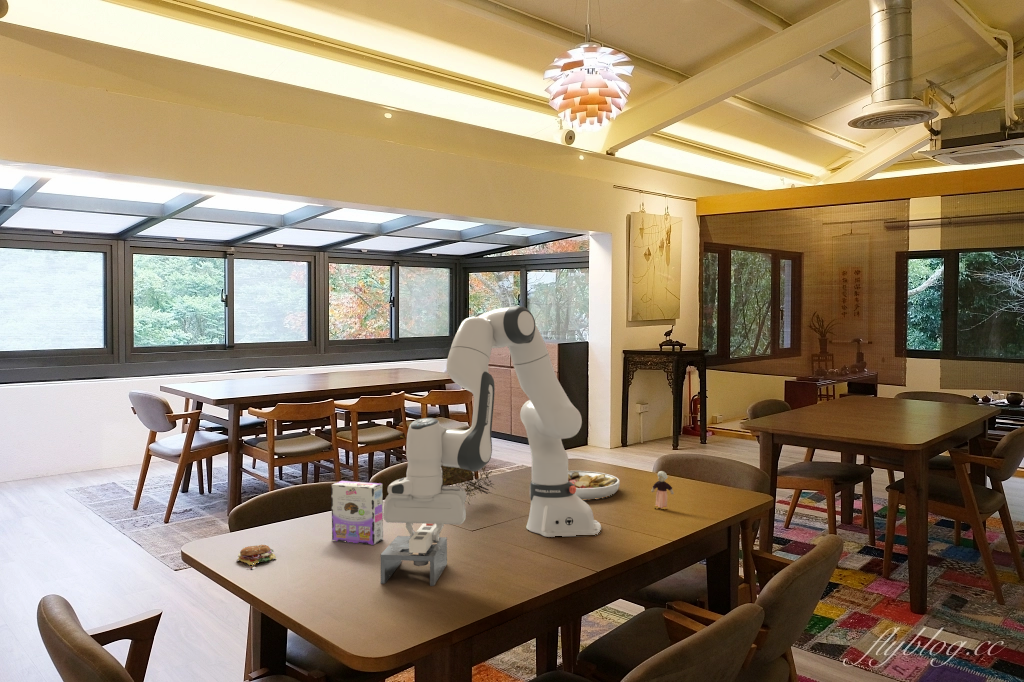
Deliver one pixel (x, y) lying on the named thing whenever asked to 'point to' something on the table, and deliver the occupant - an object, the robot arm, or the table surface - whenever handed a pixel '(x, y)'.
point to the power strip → (422, 541)
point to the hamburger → (255, 554)
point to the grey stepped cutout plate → (413, 557)
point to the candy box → (357, 512)
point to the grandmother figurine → (662, 490)
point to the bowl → (593, 484)
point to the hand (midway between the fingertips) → (424, 540)
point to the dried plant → (465, 479)
